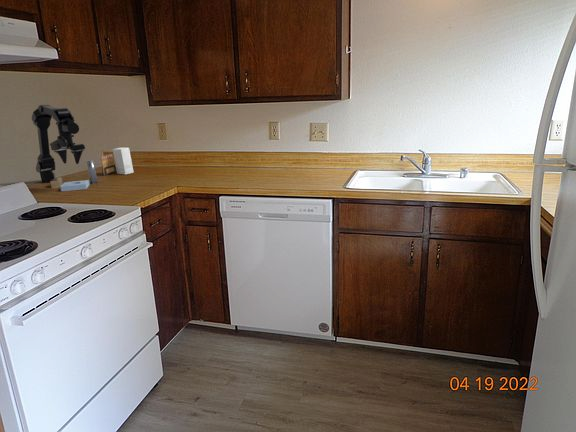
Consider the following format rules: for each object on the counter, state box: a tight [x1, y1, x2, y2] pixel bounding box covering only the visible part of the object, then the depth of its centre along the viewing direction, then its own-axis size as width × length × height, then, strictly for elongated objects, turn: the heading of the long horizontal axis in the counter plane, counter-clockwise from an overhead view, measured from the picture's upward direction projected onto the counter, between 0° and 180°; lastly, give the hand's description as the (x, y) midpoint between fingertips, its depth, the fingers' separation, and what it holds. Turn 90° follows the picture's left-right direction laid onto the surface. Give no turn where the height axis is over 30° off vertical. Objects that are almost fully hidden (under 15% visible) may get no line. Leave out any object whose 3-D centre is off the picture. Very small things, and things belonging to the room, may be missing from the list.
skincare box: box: [112, 147, 134, 175], centre depth 257 cm, size 8×7×16 cm
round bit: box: [86, 159, 99, 185], centre depth 233 cm, size 4×4×12 cm
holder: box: [60, 179, 91, 192], centre depth 224 cm, size 12×12×2 cm
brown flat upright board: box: [100, 153, 117, 177], centre depth 257 cm, size 11×2×12 cm, turn 165°
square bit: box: [49, 177, 64, 189], centre depth 231 cm, size 9×4×4 cm, turn 17°
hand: (71, 163), depth 220 cm, fingers open, 9 cm apart
